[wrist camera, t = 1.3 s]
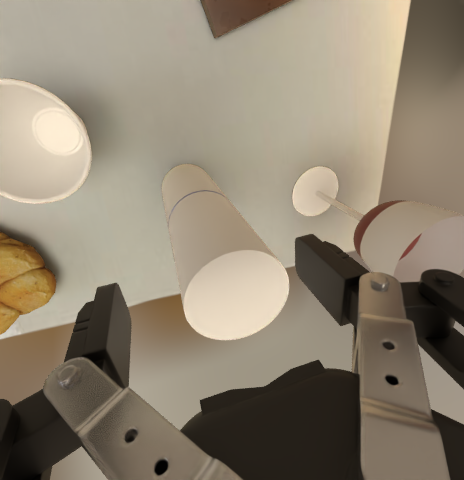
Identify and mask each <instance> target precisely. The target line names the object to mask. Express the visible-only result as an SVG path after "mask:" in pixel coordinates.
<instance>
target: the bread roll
mask: <svg viewBox="0 0 464 480" xmlns="http://www.w3.org/2000/svg"><path fill="white" fill-rule="evenodd" d="M55 288H56V279H55V275H54V274H53V273H52V272H51V271H50V270H49V269H47V268H46V267H45V263H44V261H43V259H42V258H41V256H40V254H39V253H38V252H37V251H36V249H35V248H34V247H32V246H30V245H28V244H25V243H22V242H20V241H17V240H14V239H12V238H10V237H9V236H7V235H6V234H4V233H2V232H0V334H2V333H4V332H5V331H6V330H7V329H8V328H9V327H10V326H11V325H12V324H13V323H14V322H15V321H16V319H17V318H18V317H19V315H23V314H27V313H30V312H31V311H33V310H35V309H37V308H39V307H41V306H43V305H45V304H46V303H47V302H49V300H50V299H51V297H52V296H53V295H54V293H55Z"/></svg>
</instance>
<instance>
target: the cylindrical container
mask: <svg viewBox="0 0 464 480" xmlns="http://www.w3.org/2000/svg"><path fill="white" fill-rule="evenodd" d="M161 190H162V197H163V202H164V208H165V213H166V218H167V223H168V229H169V234H170V239H171V244H172V250H173V255H174V260H175V266H176V271H177V276H178V282H179V287H180V292H181V298H182V302H183V308H184V313H185V316H186V319H187V320H188V322H189V324H190V325H191V326H192V327H193V328H194V329H195V330H196V331H197V332H198V333H200V334H202V335H204V336H205V337H209V338H212V339H217V340H234V339H239V338H243V337H246V336H249V335H251V334H253V333H255V332H258V331H259V330H261V329H262V328H264V327H265V326H267V325H268V324H269V323H270V322H271V321H272V320H273V319H275V317H276V316H277V315H278V314H279V312H280V311H281V309H282V308H283V306H284V304H285V302H286V299H287V296H288V292H289V278H288V276H287V272H286V270H285V269H284V267H283V265H282V264H281V263H280V261H279V260H278V259H277V258H276V257H275V255H274V254H273V253H272V252H271V251H270V249H269V248H268V247H267V246H266V244H265V243H264V242H263V241H262V240H261V238H260V237H259V236H258V235H257V234H256V232H255V231H254V230H253V229H252V228H251V226H250V225H249V224H248V223H247V221H246V220H245V219H244V218H243V217H242V215H241V214H240V213H239V212H238V210H237V209H236V208H235V207H234V205H233V204H232V203H231V202H230V201H229V199H228V198H227V197H226V196H225V195H224V193H223V192H222V191H221V190H220V189H219V187H218V186H217V185H216V184H215V182H214V181H213V180H212V179H211V178H210V176H209V175H208V174H207V173H206V172H205V171H204V170H203V169H202V168H200V167H199V166H196V165H192V164H182V165H178V166H176V167H174V168H173V169H171V170H170V171H169V172H168V173H167V174H166V176H165V177H164V179H163V182H162V188H161Z"/></svg>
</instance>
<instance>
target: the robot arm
mask: <svg viewBox="0 0 464 480" xmlns="http://www.w3.org/2000/svg"><path fill="white" fill-rule="evenodd" d="M295 267H296V271H297V274H298V276H299V278H300V279H301V280H302V282H303V283H304V284H305V285H306V286H307V287H308V289H309V290H310V291H311V292H312V293H313V294H314V296H315V297H316V298H317V299H318V300H319V302H320V303H321V304H322V305H323V306H324V307H325V308H326V310H327V311H328V312H329V313H330V314H331V316H332V317H333V318H334V319H335V320H336V321H337V323H338V324H339V325H340V326H343V325H346V324H349V323H351V324H352V325H353V326H354V329H353V349H352V372H350V371H346V370H341V369H329V368H327V369H325V368H324V367H323V365H322V364H321V362H320V361H319V360H316V361H313V362H310V363H307V364H305V365H301V366H299V367H296V368H293V369H290V370H289V371H288V372H286V373H284V374H283V375H282V376H280V377H279V378H277V379H276V380H274V381H273V382H271V383H270V384H268V385H266V386H264V387H256V388H245V389H233V390H228V391H226V392H223V393H220V394H217V395H214V396H211V397H208V398H205V399H202V400H200V404H201V410H202V411H201V412H199V413H198V414H196V415H195V416H194V417H193V418H192V419H191V420H189V421H188V422H187V423H186V425H185V426H184V427H183V428H182V429H181V430H180V431H179V430H178V429H177V428H176V427H175V426H174V425H172V424H171V423H170V422H169V421H168V420H167V419H165V418H164V417H163V416H162V415H161V414H160V413H158V412H157V411H156V410H155V409H154V408H153V407H152V406H150V405H149V404H148V403H147V402H146V401H145V400H143V399H142V398H141V397H140V396H139V395H138V394H136V393H135V392H134V391H133V390H132V389H130V388H129V387H128V386H129V364H130V343H131V318H130V313H129V310H128V307H127V305H126V302H125V300H124V297H123V295H122V292H121V290H120V287H119V285H118V284H117V283H113V284H109V285H105V286H101V287H98V288H97V290H96V294H95V299H94V301H91V302H88V303H86V304H85V305H84V306H83V308H82V309H81V310H80V311H79V313H78V316H77V319H76V322H75V323H76V325H75V326H74V329H73V333H72V336H71V340H70V343H69V347H68V350H67V354H66V357H65V360H64V363H63V364H61V365H60V366H58V367H57V368H56V369H55V370H54V371H52V373H51V374H50V375H49V376H48V378H47V379H46V381H45V383H44V386H43V389H42V390H40V391H39V392H37V393H35V394H33V395H31V396H30V397H28V398H26V399H24V400H22V401H20V402H19V403H17V404H15V405H13V406H12V405H11V404H10V402H9V401H7V400H5V399H0V480H50V475H51V469H52V466H53V465H54V464H56V463H57V462H59V461H60V460H62V459H63V458H65V457H66V456H68V455H69V454H71V453H72V452H74V451H75V450H77V449H78V448H79V447H81V446H82V447H83V448H84V450H85V451H86V452H87V453H88V455H89V456H90V457H91V458H92V460H93V461H94V462H95V464H96V465H97V466H98V467H99V469H100V470H101V471H102V473H103V474H104V475H105V476H106V478H107V479H108V480H464V425H463V424H461V423H459V422H457V421H455V420H453V419H451V418H449V417H446V416H444V415H442V414H440V413H438V412H436V411H434V410H432V409H431V408H430V403H429V398H428V393H427V388H426V383H425V378H424V373H423V368H422V363H421V357H420V353H419V347H418V344H419V345H420V346H421V347H422V348H423V349H424V350H425V351H426V352H427V353H428V354H429V355H430V356H431V357H432V358H433V359H434V360H435V361H436V362H437V363H438V364H439V365H440V366H441V367H442V368H443V369H444V370H445V371H446V372H447V373H448V374H449V375H450V376H451V377H452V378H453V379H454V380H455V381H456V382H457V383H458V384H459V385H460V386H461V387H462V388H463V389H464V336H463V335H462V334H461V333H460V332H458V331H457V330H456V329H455V328H453V326H454V323H455V321H457V322H458V323H459V324H461V325H462V326H463V327H464V278H463V277H461V276H459V275H458V274H456V273H453V272H450V271H447V270H442V269H429V270H426V271H424V272H423V273H422V274H421V278H420V281H419V282H399V281H398V280H397V279H396V278H394V277H393V276H391V275H388V274H385V273H380V272H369V271H368V270H367V269H365V268H364V267H363V266H362V265H360V264H359V263H358V262H356V261H355V260H354V259H353V258H351V257H349V255H347V254H346V253H345V252H343V251H342V250H341V249H340V248H339V247H337V246H336V245H334V244H331V243H328V242H326V241H324V242H322V241H321V240H320V239H318V238H317V237H316V236H315V235H313V234H309V235H305V236H301V237H297V238H296V240H295Z"/></svg>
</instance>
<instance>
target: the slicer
mask: <svg viewBox="0 0 464 480" xmlns="http://www.w3.org/2000/svg"><path fill="white" fill-rule="evenodd" d="M291 1H293V0H201V2H202V5H203V8H204V11H205V13H206V16H207V19H208V22H209V24H210V27H211V30H212V33H213V35H214V38H217V37H219V36H222V35H224V34H226V33H228V32H230V31H232V30H234V29H236V28H238V27H240V26H242V25H244V24H246V23H248V22H250V21H252V20H254V19H256V18H258V17H260V16H262V15H264V14H267V13H269V12H271V11H273V10H275V9H277V8H279V7H281V6H283V5H285V4H287V3H289V2H291Z"/></svg>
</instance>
